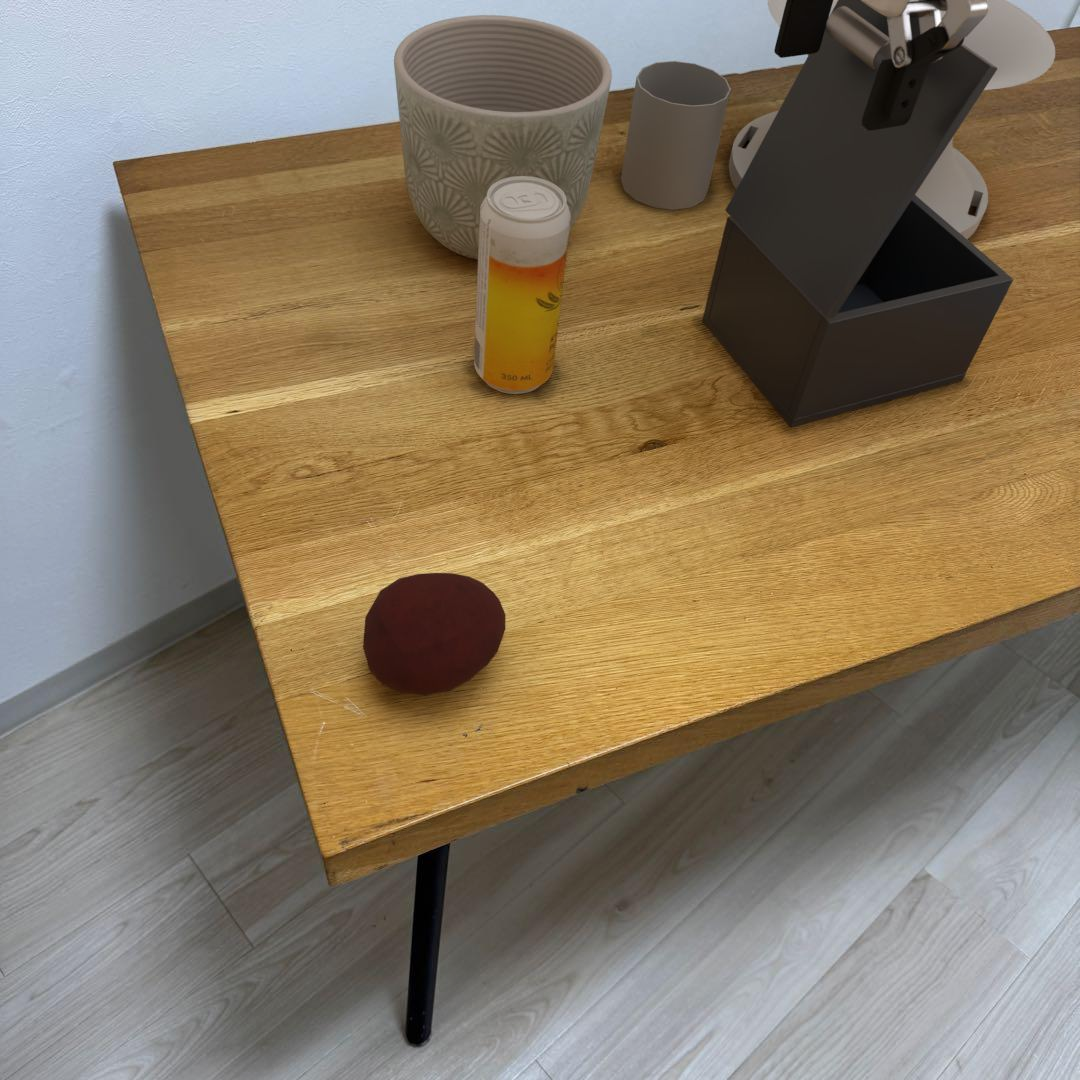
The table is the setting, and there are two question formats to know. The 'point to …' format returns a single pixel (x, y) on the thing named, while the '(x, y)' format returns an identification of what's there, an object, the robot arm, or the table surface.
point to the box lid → (847, 156)
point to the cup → (674, 134)
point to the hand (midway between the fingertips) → (838, 88)
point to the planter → (495, 116)
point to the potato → (432, 632)
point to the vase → (953, 178)
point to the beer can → (520, 282)
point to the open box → (857, 319)
